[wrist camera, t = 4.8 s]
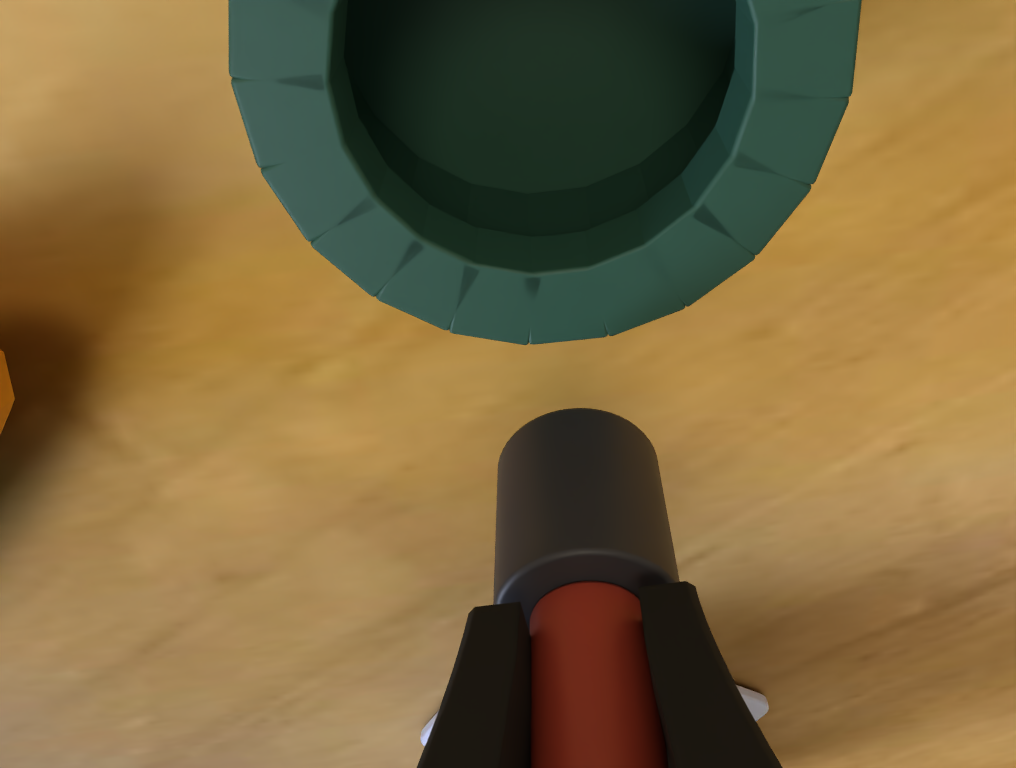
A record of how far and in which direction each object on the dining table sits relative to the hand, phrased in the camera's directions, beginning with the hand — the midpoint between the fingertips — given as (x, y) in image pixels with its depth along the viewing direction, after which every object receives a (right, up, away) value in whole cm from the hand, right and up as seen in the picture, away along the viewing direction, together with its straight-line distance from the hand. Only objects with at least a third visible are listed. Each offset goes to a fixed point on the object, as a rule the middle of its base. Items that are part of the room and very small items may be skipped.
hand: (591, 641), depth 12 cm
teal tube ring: (-1, +11, +5) cm, 12 cm away
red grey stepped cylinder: (0, +2, +3) cm, 3 cm away
